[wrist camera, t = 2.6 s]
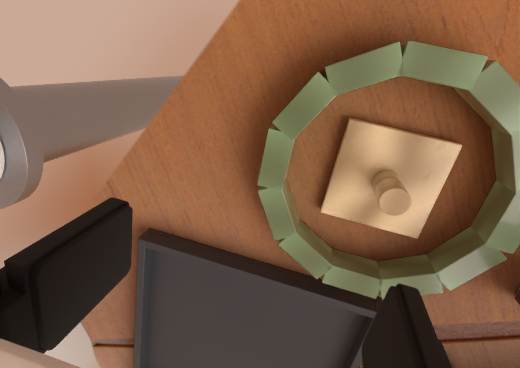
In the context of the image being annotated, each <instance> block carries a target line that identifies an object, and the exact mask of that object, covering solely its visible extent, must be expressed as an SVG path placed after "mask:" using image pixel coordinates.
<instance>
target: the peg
mask: <svg viewBox="0 0 520 368" xmlns="http://www.w3.org/2000/svg"><path fill="white" fill-rule="evenodd" d="M461 148H462V145H461V144H459V143H457V142H453V141H449V140H444V139H440V138H436V137H431V136H427V135H423V134H419V133H414V132H410V131H406V130H401V129H397V128H393V127H389V126H384V125H380V124H376V123H371V122H367V121H363V120H358V119H354V118H349V120H348V123H347V126H346V129H345V132H344V136H343V139H342V142H341V145H340V148H339V152H338V155H337V158H336V161H335V164H334V167H333V171H332V174H331V177H330V180H329V183H328V186H327V190H326V193H325V196H324V199H323V202H322V206H321V211H320V212H321V213H325V214H329V215H332V216H336V217H339V218H343V219H347V220H350V221H354V222H358V223H361V224H365V225H369V226H372V227H376V228H380V229H383V230H387V231H390V232H394V233H398V234H401V235H405V236H409V237H412V238H416V239H417V238H418V236H419V234H420V232H421V230H422V228H423V226H424V224H425V222H426V220H427V218H428V216H429V214H430V212H431V210H432V208H433V206H434V204H435V201H436V199H437V197H438V195H439V193H440V191H441V189H442V187H443V185H444V183H445V181H446V179H447V177H448V175H449V173H450V171H451V169H452V167H453V164H454V162H455V160H456V158H457V156H458V154H459V152H460V150H461Z"/></svg>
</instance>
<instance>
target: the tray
mask: <svg viewBox="0 0 520 368" xmlns="http://www.w3.org/2000/svg"><path fill="white" fill-rule="evenodd" d="M381 304H382V298H379V297H376V299H374V298H371V297H368V296H364V295H361V294H358V293H355V292H351V291H348V290H345V289H341V288H338V287H335V286H332V285H328V284H325V283H322V280H320V279H316V278H313V277H310V276H307V275H303V274H300V273H297V272H293V271H290V270H287V269H283V268H280V267H277V266H273V265H270V264H267V263H264V262H260V261H257V260H254V259H250V258H247V257H244V256H240V255H237V254H234V253H231V252H227V251H224V250H221V249H217V248H214V247H211V246H207V245H204V244H201V243H198V242H194V241H191V240H188V239H184V238H181V237H178V236H174V235H171V234H168V233H164V232H161V231H158V230H155V229H151V228H149V229H148V230H147V231H146V232H145V233H144V234H143V235H142V236H141V237H140V238H139V239H138V258H137V286H136V313H135V341H134V368H359V367H360V365H361V363H362V345H363V341H364V339H365V337H366V335H367V333H368V331H369V329H370V327H371V325H372V323H373V320H374V318H375V316H376V314H377V312H378V310H379V308H380V306H381Z"/></svg>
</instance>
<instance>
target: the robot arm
mask: <svg viewBox="0 0 520 368" xmlns="http://www.w3.org/2000/svg"><path fill="white" fill-rule="evenodd" d="M4 164H5V158H4V150H3V146H2V143H1V140H0V179H1V177H2V174H3V171H4ZM131 249H132V208H131V207H129V203H128V202H127V201H123V200H120V199H117V198H109V199H108V200H106V201H104V202H103V203H101V204H99V205H98V206H96V207H94V208H92V209H91V210H89V211H87V212H86V213H84V214H82V215H81V216H79V217H77V218H76V219H74V220H72V221H71V222H69V223H67V224H66V225H64V226H62V227H61V228H59V229H57V230H56V231H54V232H52V233H51V234H49V235H47V236H45V237H44V238H42V239H40V240H39V241H37V242H35V243H34V244H32V245H30V246H29V247H27V248H25V249H23V250H22V251H20V252H19V253H17V254H15V255H13V256H12V257H10V258H8V259H7V260H5V261H4V263H5V266H4V267H3V268H1V269H0V368H79V367H77V366H74V365H71V364H69V363H66V362H64V361H61V360H58V359H56V358H53V357H50V356H48V355H45V354H44V353H45V352H46V351H47V350H52V349H53V348H55V347H56V346H57V345H58V344H59V343H60V342H61V341H62V340H63V339H64V338H65V336H67V335H68V334H69V333H70V332H71V331H72V330H73V329H74V327H76V326H77V325H78V323H79V322H80V321H81V320H82V319H83V318H84V317H85V316H86V315H87V314H88V313H89V312H90V311H91V310H92V309H93V308H94V307H95V306H96V305H97V304H98V303H99V302H100V301H101V300H102V299H103V298H104V297H105V296H106V295H107V294H108V293H109V292H110V291H111V290H112V289H113V288H114V287H115V286H116V285H117V284H118V283H119V282H120V281H121V280H122V279H123V278H124V277H125V276H126V275H127V274H128V272H129V270H130V267H131ZM362 361H363V368H452V367H451V365H450V362H449V360H448V357H447V355H446V352H445V350H444V347H443V345H442V343H441V342H440V341H439V340H438V339H437V336H436V334H435V331H434V328H433V326H432V323H431V321H430V318H429V316H428V313H427V310H426V308H425V305H424V303H423V300H422V297H421V295H420V292H419V290H418V289H417V288H414V287H410V286H407V285H404V284H400V283H398V284H397V285H396V286H390V288H389V289H388V291H387V293H386V295H385V298H384V300H383V302H382V304H381V306H380V308H379V310H378V312H377V314H376V316H375V318H374V320H373V323H372V325H371V327H370V329H369V331H368V333H367V335H366V337H365V339H364V341H363V345H362Z"/></svg>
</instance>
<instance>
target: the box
mask: <svg viewBox="0 0 520 368" xmlns="http://www.w3.org/2000/svg"><path fill="white" fill-rule="evenodd" d="M515 299H516V300H517V302H518V303H519V304H520V288H519V289H518V291H517V293H516V296H515Z"/></svg>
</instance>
